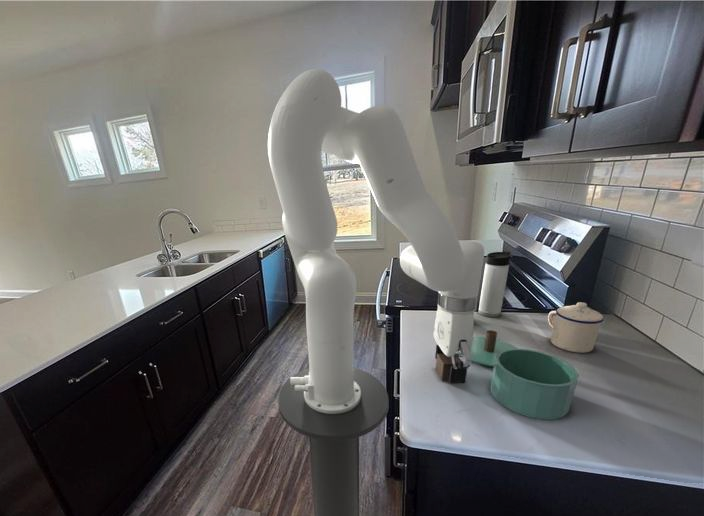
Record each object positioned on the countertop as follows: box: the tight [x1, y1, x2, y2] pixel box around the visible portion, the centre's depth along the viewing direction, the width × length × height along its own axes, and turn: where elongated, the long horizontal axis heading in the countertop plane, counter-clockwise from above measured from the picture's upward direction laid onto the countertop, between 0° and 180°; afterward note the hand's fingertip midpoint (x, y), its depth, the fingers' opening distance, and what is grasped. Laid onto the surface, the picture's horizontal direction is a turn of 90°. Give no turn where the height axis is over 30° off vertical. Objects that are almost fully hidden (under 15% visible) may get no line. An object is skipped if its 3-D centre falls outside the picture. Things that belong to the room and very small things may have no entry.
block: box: [435, 354, 462, 382], centre depth 73 cm, size 4×4×4 cm
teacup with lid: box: [547, 301, 604, 354], centre depth 81 cm, size 12×9×12 cm
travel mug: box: [477, 250, 512, 318], centre depth 99 cm, size 6×7×20 cm
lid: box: [458, 329, 518, 368], centre depth 80 cm, size 14×14×6 cm
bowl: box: [490, 348, 580, 421], centre depth 64 cm, size 13×13×8 cm
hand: (449, 370), depth 73 cm, fingers open, 9 cm apart
